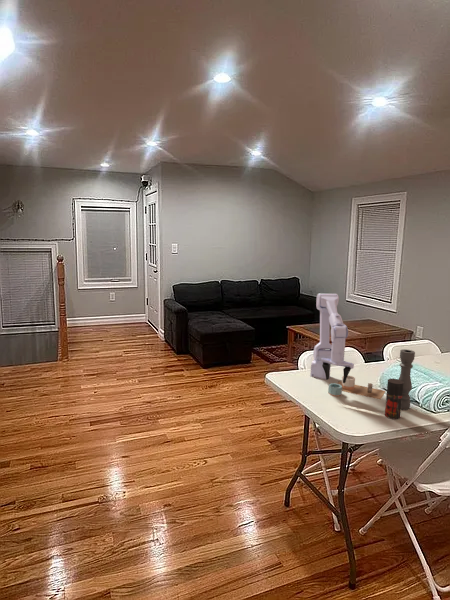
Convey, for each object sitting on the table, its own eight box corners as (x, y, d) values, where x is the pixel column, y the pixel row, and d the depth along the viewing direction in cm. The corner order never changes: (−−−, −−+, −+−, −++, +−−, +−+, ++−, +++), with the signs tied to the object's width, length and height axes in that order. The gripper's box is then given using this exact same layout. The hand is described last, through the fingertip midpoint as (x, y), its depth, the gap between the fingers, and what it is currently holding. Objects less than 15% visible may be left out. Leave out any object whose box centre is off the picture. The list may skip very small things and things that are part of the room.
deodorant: (382, 412, 171) (385, 378, 168) (395, 412, 171) (399, 378, 169) (388, 419, 165) (392, 384, 162) (402, 419, 165) (406, 383, 163)
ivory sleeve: (340, 388, 194) (341, 378, 193) (343, 384, 199) (344, 374, 198) (352, 390, 191) (353, 380, 190) (355, 387, 196) (356, 377, 195)
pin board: (331, 391, 193) (332, 380, 192) (338, 383, 203) (339, 373, 202) (380, 402, 182) (381, 390, 181) (385, 393, 192) (386, 382, 191)
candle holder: (409, 405, 179) (414, 350, 175) (410, 411, 173) (416, 354, 169) (393, 403, 181) (399, 348, 177) (394, 408, 175) (400, 352, 171)
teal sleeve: (326, 396, 186) (327, 386, 185) (330, 392, 191) (331, 382, 190) (339, 399, 183) (339, 388, 183) (342, 395, 188) (343, 385, 187)
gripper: (319, 351, 184) (317, 379, 186) (351, 356, 177) (349, 386, 179) (324, 347, 190) (322, 375, 192) (356, 352, 183) (353, 381, 185)
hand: (335, 380), depth 186 cm, fingers open, 7 cm apart
